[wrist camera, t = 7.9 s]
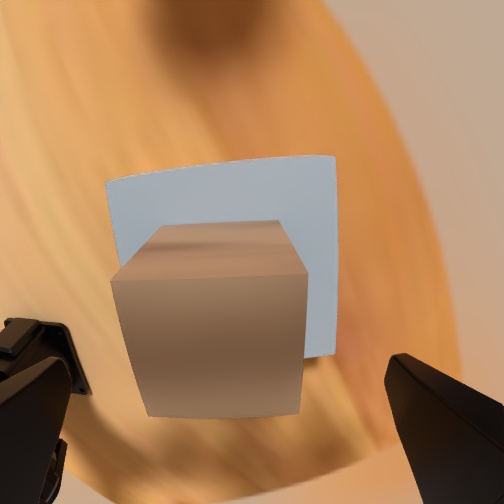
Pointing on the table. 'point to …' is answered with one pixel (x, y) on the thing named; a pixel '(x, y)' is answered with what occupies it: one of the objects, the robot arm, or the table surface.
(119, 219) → the slate block
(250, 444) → the table surface
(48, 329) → the robot arm
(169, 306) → the walnut block
